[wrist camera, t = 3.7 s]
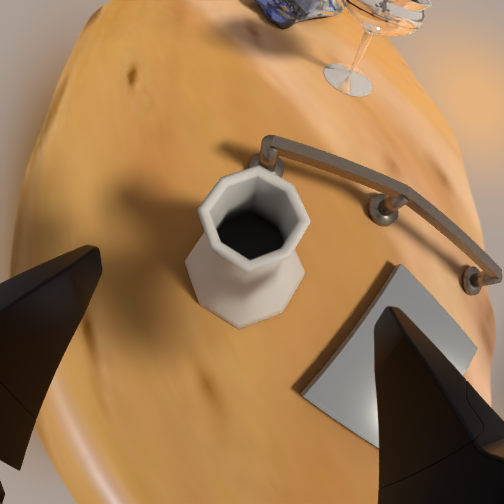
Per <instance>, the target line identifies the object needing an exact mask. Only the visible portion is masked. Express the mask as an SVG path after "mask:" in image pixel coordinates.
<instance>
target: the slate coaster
mask: <svg viewBox="0 0 504 504" xmlns="http://www.w3.org/2000/svg"><path fill="white" fill-rule="evenodd" d="M387 306H394V307H398V308H400V309H401V310H402V311H403V312H404V313H405V314H406V315H407V316H408V317H409V318H410V319H411V320H412V321H413V322H414V323H415V324H416V325H417V326H418V328H419V329H420V330H421V331H422V332H423V333H424V334H425V335H426V336H427V337H428V338H429V339H430V340H431V341H432V342H433V343H434V344H435V345H436V347H437V348H438V349H439V350H440V351H441V352H442V353H443V354H444V355H445V356H446V357H447V359H448V360H449V361H450V362H451V363H452V364H453V365H454V366H455V367H456V369H457V370H458V371H459V372H460V373H461V374H462V375H463V376H464V374H465V372H466V370H467V368H468V367H469V365H470V363H471V361H472V359H473V357H474V355H475V353H476V351H477V349H478V348H477V347H476V346H475V344H474V343H473V342H472V341H471V339H470V338H469V337H468V336H467V335H466V333H465V332H464V331H463V330H462V329H461V327H460V326H459V325H458V324H457V323H456V322H455V320H454V319H453V318H452V317H451V316H450V315H449V314H448V312H447V311H446V310H445V309H444V308H443V307H442V306H441V305H440V304H439V302H438V301H437V300H436V299H435V298H434V297H433V296H432V295H431V294H430V293H429V292H428V291H427V289H426V288H425V287H424V286H423V285H422V284H421V283H420V282H419V281H418V280H417V279H416V278H415V277H414V276H413V275H412V274H411V273H410V272H409V271H408V270H407V269H406V268H405V267H404V266H403V265H402V264H399V265H396V266H395V268H394V269H393V271H392V272H391V274H390V276H389V277H388V279H387V280H386V282H385V283H384V285H383V286H382V288H381V290H380V291H379V293H378V294H377V296H376V297H375V298H374V300H373V301H372V303H371V304H370V306H369V307H368V309H367V310H366V311H365V313H364V314H363V316H362V317H361V319H360V320H359V321H358V323H357V324H356V325H355V327H354V328H353V329H352V331H351V332H350V333H349V335H348V336H347V337H346V339H345V340H344V341H343V343H342V344H341V345H340V347H339V348H338V349H337V350H336V352H335V353H334V354H333V355H332V357H331V358H330V359H329V360H328V362H327V363H326V364H325V365H324V366H323V368H322V369H321V370H320V371H319V372H318V374H317V375H316V376H315V377H314V378H313V379H312V381H311V382H310V383H309V384H308V385H307V386H306V388H305V389H304V390H303V391H302V392H301V395H302V396H303V397H304V398H306V399H307V400H308V401H310V402H311V403H313V404H314V405H315V406H317V407H318V408H319V409H321V410H322V411H324V412H325V413H326V414H328V415H329V416H331V417H332V418H334V419H335V420H336V421H338V422H339V423H341V424H342V425H344V426H345V427H347V428H348V429H350V430H351V431H353V432H354V433H356V434H357V435H359V436H360V437H362V438H363V439H365V440H366V441H368V442H370V443H371V444H373V445H374V446H376V447H377V448H379V430H378V411H377V397H376V385H375V373H374V326H375V324H376V322H377V320H378V319H379V317H380V315H381V314H382V312H383V310H384V309H385V308H386V307H387Z"/></svg>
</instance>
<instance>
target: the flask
mask: <svg viewBox="0 0 504 504" xmlns="http://www.w3.org/2000/svg"><path fill="white" fill-rule="evenodd" d="M197 211H198V214H199V217H200V220H201V223H202V226H203V228H204V231H205V232H204V233H203V235H202V236H201V237H200V239H199V240H198V242H197V243H196V245H195V246H194V248H193V249H192V251H191V252H190V254H189V255H188V257H187V258H186V260H185V261H184V262H185V265H186V268H187V271H188V274H189V277H190V280H191V283H192V285H193V288H194V291H195V294H196V296H197V299H198V302H199V305H201V306H202V307H204V308H205V309H207V310H208V311H210V312H212V313H213V314H215V315H216V316H218V317H219V318H221V319H223V320H224V321H226V322H227V323H229V324H231V325H232V326H234V327H235V328H237V329H239V330H240V329H242V328H245V327H248V326H250V325H253V324H255V323H258V322H261V321H263V320H266V319H268V318H271V317H273V316H276V315H278V314H281V313H283V311H284V309H285V308H286V306H287V304H288V303H289V301H290V299H291V298H292V296H293V294H294V293H295V291H296V289H297V288H298V286H299V284H300V282H301V281H302V279H303V277H304V275H305V271H304V269H303V267H302V264H301V262H300V259H299V257H298V254H297V252H296V250H295V247H296V246H297V244H298V242H299V241H300V239H301V237H302V236H303V234H304V232H305V230H306V229H307V227H308V225H309V224H310V222H311V221H310V219H309V217H308V214H307V212H306V210H305V208H304V206H303V203H302V201H301V199H300V197H299V195H298V193H297V191H296V189H295V187H294V185H293V184H291V183H289V182H288V181H286V180H284V179H283V178H281V177H279V176H277V175H276V174H274V173H272V172H270V171H269V170H267V169H265V168H263V167H261V166H260V165H258V166H255V167H252V168H248V169H245V170H242V171H239V172H236V173H233V174H230V175H227V176H224V177H221V178H220V179H219V181H218V182H217V183H216V185H215V186H214V187H213V189H212V190H211V191H210V193H209V194H208V195H207V197H206V198H205V200H204V201H203V202H202V204H201V205H200V206H199V208H198V209H197Z"/></svg>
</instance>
